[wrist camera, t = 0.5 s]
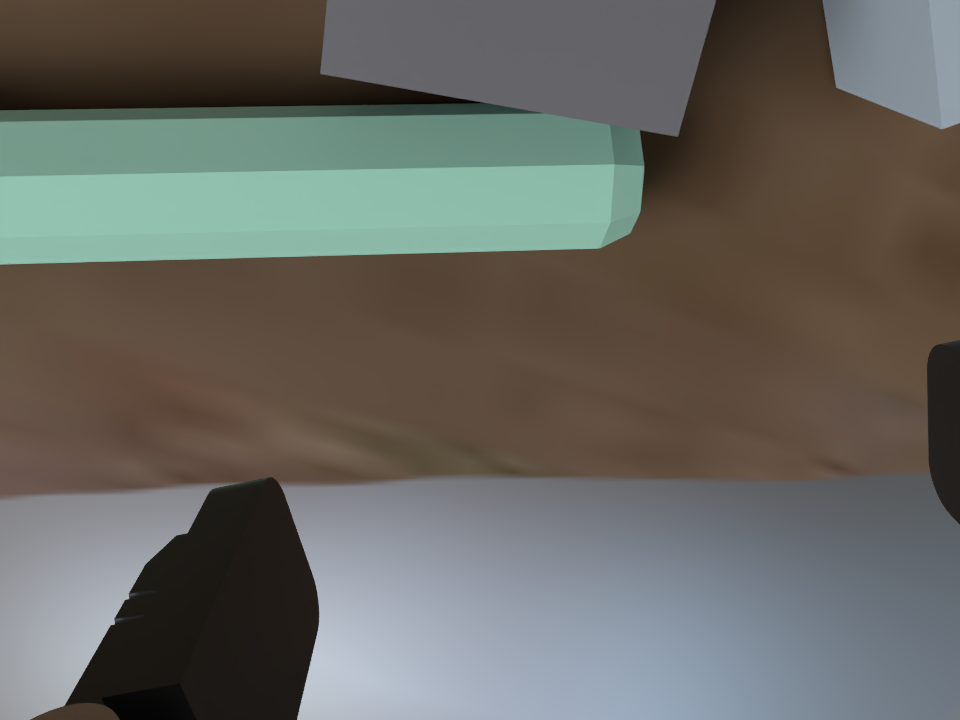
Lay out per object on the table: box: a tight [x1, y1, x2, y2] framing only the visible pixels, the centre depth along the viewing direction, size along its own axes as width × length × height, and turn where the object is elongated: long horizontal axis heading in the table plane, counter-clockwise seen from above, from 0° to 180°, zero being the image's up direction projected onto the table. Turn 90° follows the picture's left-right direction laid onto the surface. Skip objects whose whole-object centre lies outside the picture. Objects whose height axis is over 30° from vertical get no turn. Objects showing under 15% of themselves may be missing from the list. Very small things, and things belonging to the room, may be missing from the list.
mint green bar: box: [0, 103, 644, 264], centre depth 29 cm, size 6×6×25 cm
